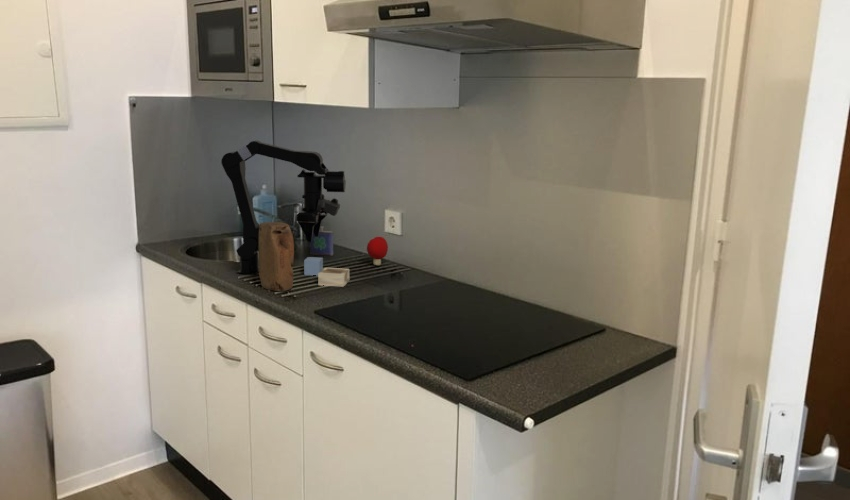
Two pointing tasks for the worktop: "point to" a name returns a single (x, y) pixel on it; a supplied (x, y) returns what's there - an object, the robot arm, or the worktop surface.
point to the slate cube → (313, 265)
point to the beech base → (333, 277)
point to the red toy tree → (377, 249)
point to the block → (276, 256)
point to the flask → (322, 243)
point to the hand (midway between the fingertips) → (313, 239)
